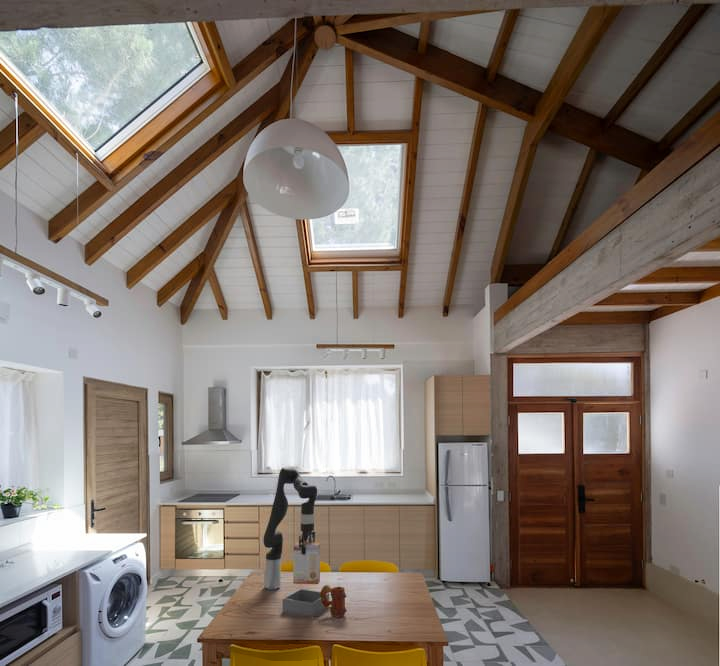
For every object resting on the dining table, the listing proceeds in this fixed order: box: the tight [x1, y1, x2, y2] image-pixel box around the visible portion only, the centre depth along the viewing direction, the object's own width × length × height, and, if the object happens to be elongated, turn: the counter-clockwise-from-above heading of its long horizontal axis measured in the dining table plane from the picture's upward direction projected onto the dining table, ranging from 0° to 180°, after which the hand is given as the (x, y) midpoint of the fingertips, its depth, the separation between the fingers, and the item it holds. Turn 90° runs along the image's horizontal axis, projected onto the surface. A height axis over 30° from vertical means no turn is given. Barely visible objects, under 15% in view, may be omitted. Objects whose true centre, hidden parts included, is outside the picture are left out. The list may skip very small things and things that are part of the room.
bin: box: [282, 588, 330, 618], centre depth 307 cm, size 19×19×7 cm
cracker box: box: [292, 541, 321, 585], centre depth 310 cm, size 14×6×21 cm, turn 84°
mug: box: [320, 584, 348, 619], centre depth 299 cm, size 15×8×15 cm, turn 71°
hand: (306, 552), depth 311 cm, fingers closed on cracker box, 7 cm apart
